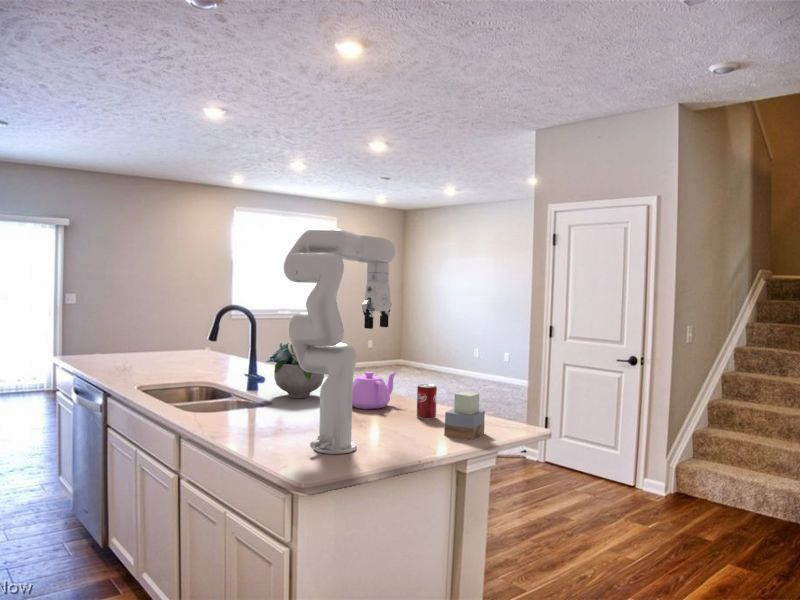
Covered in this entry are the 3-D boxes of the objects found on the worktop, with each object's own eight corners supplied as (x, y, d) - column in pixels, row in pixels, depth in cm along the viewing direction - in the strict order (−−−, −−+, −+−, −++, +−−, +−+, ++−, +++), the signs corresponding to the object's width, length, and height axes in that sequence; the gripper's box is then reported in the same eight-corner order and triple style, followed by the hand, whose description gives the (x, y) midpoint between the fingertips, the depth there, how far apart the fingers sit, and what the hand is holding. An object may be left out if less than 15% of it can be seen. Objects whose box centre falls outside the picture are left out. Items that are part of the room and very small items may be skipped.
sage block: (470, 414, 189) (470, 396, 189) (454, 411, 192) (454, 393, 192) (478, 411, 194) (479, 393, 194) (463, 408, 197) (463, 391, 197)
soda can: (419, 420, 212) (420, 387, 212) (414, 415, 219) (414, 384, 219) (438, 419, 214) (439, 387, 213) (432, 415, 221) (433, 383, 220)
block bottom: (472, 440, 187) (472, 428, 187) (444, 436, 192) (444, 424, 192) (484, 434, 196) (484, 422, 195) (456, 429, 201) (457, 418, 200)
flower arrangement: (303, 405, 232) (304, 344, 232) (257, 397, 245) (258, 339, 244) (340, 395, 254) (341, 339, 253) (295, 389, 266) (296, 336, 266)
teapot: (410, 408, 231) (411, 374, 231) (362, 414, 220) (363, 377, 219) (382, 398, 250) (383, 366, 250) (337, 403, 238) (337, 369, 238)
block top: (473, 428, 187) (473, 416, 187) (445, 424, 191) (445, 412, 191) (484, 422, 195) (484, 410, 195) (456, 418, 200) (457, 407, 200)
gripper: (373, 277, 191) (371, 329, 192) (399, 279, 206) (398, 327, 207) (354, 277, 195) (353, 328, 195) (381, 278, 210) (380, 326, 210)
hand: (376, 327), depth 201 cm, fingers open, 9 cm apart
